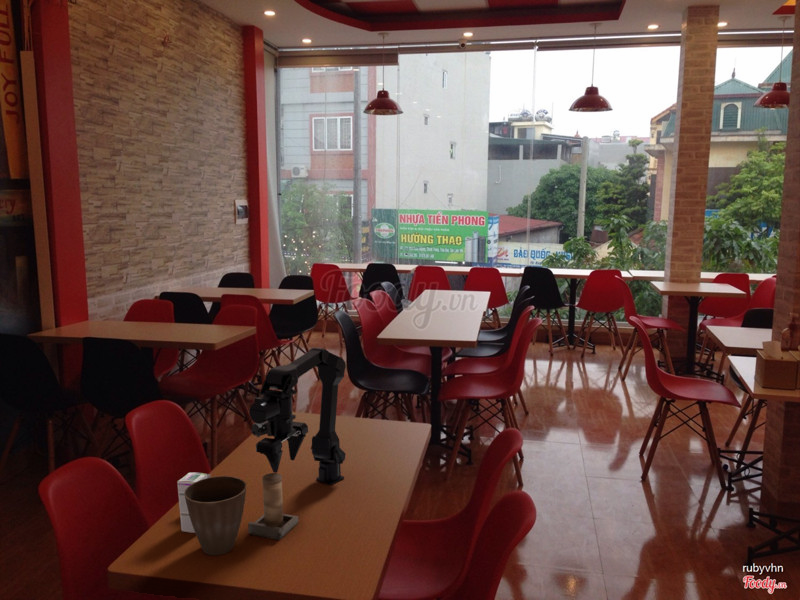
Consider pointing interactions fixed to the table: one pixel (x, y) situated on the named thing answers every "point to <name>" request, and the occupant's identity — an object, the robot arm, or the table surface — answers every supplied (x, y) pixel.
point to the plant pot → (216, 511)
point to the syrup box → (182, 486)
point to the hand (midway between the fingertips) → (284, 466)
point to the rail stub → (273, 499)
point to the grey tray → (272, 527)
